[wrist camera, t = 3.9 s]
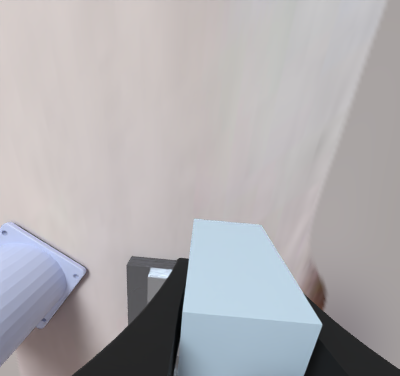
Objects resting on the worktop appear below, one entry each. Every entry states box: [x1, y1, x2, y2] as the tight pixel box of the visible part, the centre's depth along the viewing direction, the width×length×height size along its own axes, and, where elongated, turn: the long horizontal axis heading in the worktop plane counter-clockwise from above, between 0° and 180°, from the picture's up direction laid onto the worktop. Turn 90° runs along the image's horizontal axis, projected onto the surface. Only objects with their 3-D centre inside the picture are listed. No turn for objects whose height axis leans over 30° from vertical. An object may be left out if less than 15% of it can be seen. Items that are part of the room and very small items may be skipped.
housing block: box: [177, 219, 322, 376], centre depth 9 cm, size 5×4×6 cm
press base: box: [127, 256, 180, 376], centre depth 19 cm, size 18×13×2 cm
